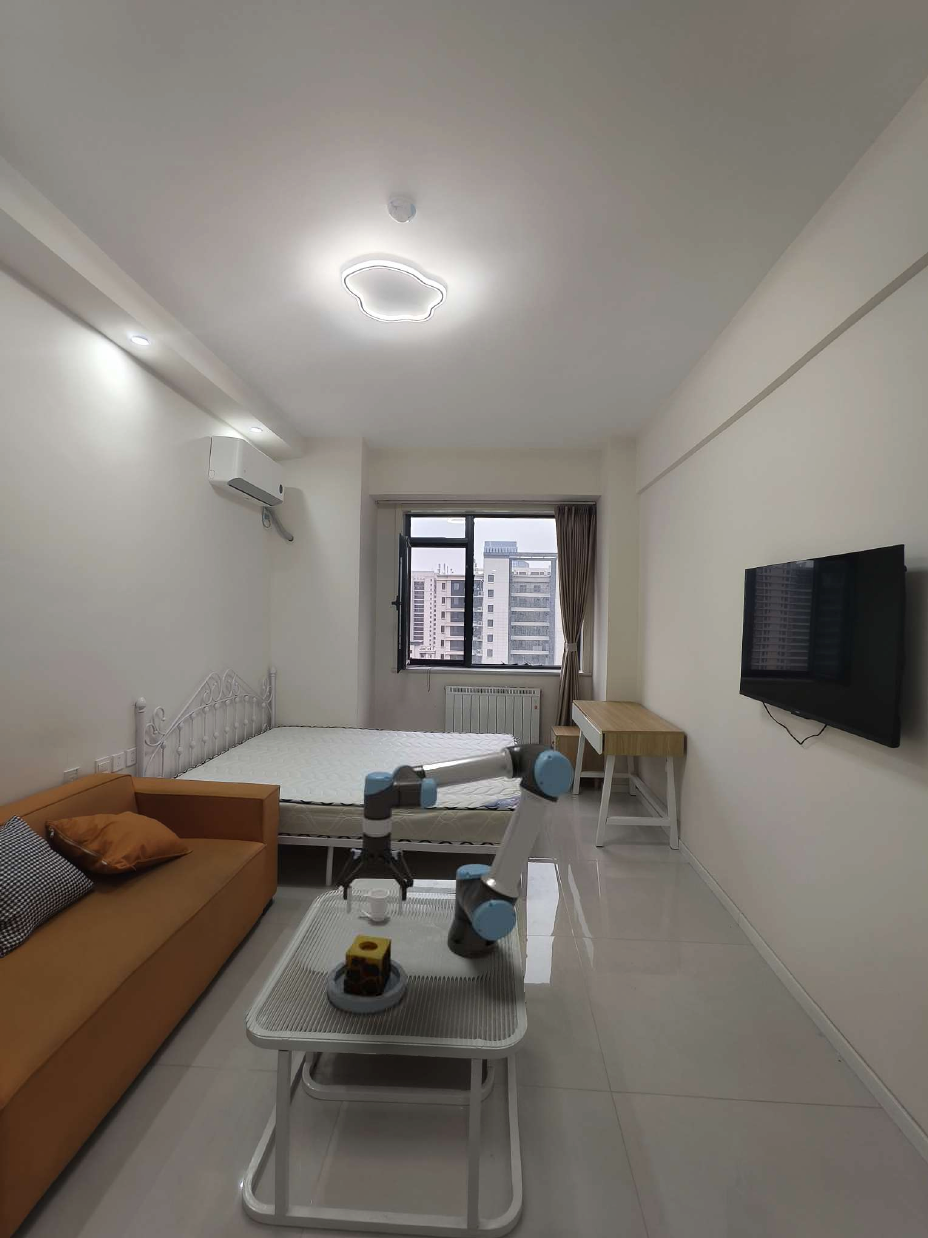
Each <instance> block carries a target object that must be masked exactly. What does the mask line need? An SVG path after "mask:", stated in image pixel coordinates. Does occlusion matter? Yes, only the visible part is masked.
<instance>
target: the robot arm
mask: <svg viewBox="0 0 928 1238" xmlns="http://www.w3.org/2000/svg"><path fill="white" fill-rule="evenodd" d="M574 776H575V775H574V768H573V765H572V763H571V762H570V760H569V759H568V758H567V757H566V755H563V754H562V753H561V752H560V751H558V750H555V749H553V748H550V747H548V746H546V745H545V744H543V743H539V742H527V743H521V744H514V745H509V746H504V747H501V749H500V751H496V752H495V751H494V752H490V753H484V754H478V755H472V756H467V757H461V758H460V757H459V758H455V759H450V760H444V761H438V762H431V763H426V764H421V765H415V766H414V765H413V766H412V765H408V764H400V765H398V766H397V767H396V768H394V770H393V771H392V773H391V772H387V771H374V772H373V771H372V772H370V773H368V774H366V776H365V778H364V788H363V816H362V818H363V819H362V832H363V833H362V845H361V847H362V848H361V850H360V849H356V848H355V847H352V848H351V850H350V853H349V858H348V860H347V862H346V863H345V865H344V867H343V870H342V871H341V873H340V875H339V877H338V878H337V881H336V886H338V887H342V888H343V893H342V896H343V898H342V899H343V900H345V901H346V914H347V915H349V914H351V911H352V899H353V898H352V897H353V893H352V892H353V885H352V883H353V882H354V881H355V880H356V879H357V878H358V876H359V875H360V874H361V873H362V872H363V871H364V870H365V869H366V868H367V867H368V868H369V869H375V868H376V869H382V868H384V869H385V870H386V871H387V872H388V873H389V874H390V875H391V877H392V878H393V879H394V880H395V882H396V883H397V884H398V885H399V889H398V908H397V909H398V915H399V916H402V912H403V902H406V900H407V897H408V896H407V895H408V888H412V887H414V882H415V881H414V878H413V876H412V874H411V872H410V871H411V870H410V869H409V867H408V864H407V863H406V860H405V858H404V853H403V849H402V848H399V849H397V850H392V833H391V831H392V823H393V822H392V819H393V818H392V817H393V816H392V815H393V813H392V812H393V810H402V809H424V808H430V807H434V806H435V805H436V804H437V801H438V789H443V788H448V787H454V786H461V785H464V784H471V783H476V782H482V781H488V780H493V779H497V778H498V779H499V778H503V777H504V778H506V779H508V780H512V779H521V780H520V782H519V785H518V787H519V789H520V793H521V794H520V796H519V798H518V801H517V803H516V806H515V809H514V811H513V813H512V816H511V818H510V820H509V823H508V825H507V827H506V830H505V832H504V835H503V837H502V840H501V843H500V844H499V848H498V849H497V852H496V854H495V857H494V859H493V860H492V861H493V862H492V864H491V865H486V864H480V863H476V864H474V863H470V864H465V865H462V866H460V867H459V868H458V869H457V870H456V875H455V876H456V877H455V895H454V917H453V920H452V922H451V925H450V928H449V930H448V933H447V942H446V943H447V946H448V948H449V950H451V951H452V952H453V953H454V954H455V953H456V954H457V955H459V956H463V957H466V958H467V957H468V958H482V956H483V957H487V956H489V955H491V954H493V953H494V952H495V951H496V950H497V948H498V941H499V940H501V939H503V938H506V937H507V936H508V935H509V934H510V933H512V931H513V930H514V929H515V926H516V923H517V917H518V916H517V912H516V908H515V907H516V905H517V901H518V898H519V895H520V893H519V889H518V883H519V881H520V879H521V876H522V874H523V871H524V869H525V866H526V863H527V862H528V859H529V857H530V855H531V852H532V849H533V847H534V845H535V841H536V840H537V837H538V835H539V832H540V829H541V827H542V825H543V822H544V820H545V817H546V815H547V813H548V809H549V808H550V807H551V806H553V805H556V804H557V802H558V800H559V797H561V796H563V795H564V794H565V793H567V792H568V791H569V790H570V788H571V787H572V785H573V782H574V778H575V777H574ZM358 857H360V858H361V859H362V861H361V863H359V865H358V866H357V867H356V868H355V869H354V870H353V872H352V873H351V874H349V876H348V877H347V878H346V879H345V877H346V876H347V874H348V872H349V870H350V868H351V867H352V864H353V863H354V860H356V859H358ZM392 857H394V859H395V861H396V860H397V863H398V865H399V867H400V870H401V872H402V874H401V873H400V872H399V870H398V869H397V868H396V867H395V865H394V864H393V863H392V861H391V859H392ZM402 875H403V876H404V877H403V876H402ZM496 947H497V948H496ZM495 949H496V950H495ZM494 950H495V951H494ZM493 951H494V952H493ZM492 952H493V953H492ZM490 953H491V954H490ZM488 954H489V955H488ZM486 955H487V956H486Z"/></svg>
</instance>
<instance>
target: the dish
mask: <svg viewBox="0 0 928 1238" xmlns="http://www.w3.org/2000/svg"><path fill="white" fill-rule="evenodd" d="M345 966H346V960H343V961H341V962H339V963H338V964H337V965H336V966H335V967H334V968H333V969H331V970H330V972H329V976H328V978H327V985H326V986H327V995H328V998H329V1001H330V1002H331V1003H332V1004H333V1005H334V1006H335V1007H336V1008H338V1009H339V1010H342V1011H345V1012H347V1013H351V1014H360V1015H363V1014H364V1015H367V1014H375V1013H379V1012H383V1011H385V1010H387V1009H390V1008H391V1007H393V1006H395V1005H396V1004H397V1003H399V1002H400V1001H401V999H402V998H403V996H404V994H405V992H406V983H407V973H406V970H405V969H404V967H403V965H401V964H400V963H399V962H397V961H396V960H394V959H392V958H391V971H390V978H389V979H388V982H387V985H386V987H385V989H384V992H383V993H382V995H380V996H376V997H372V996H361V995H355V994H350V993H345V992H344V990H343V988H344V984H343V982H344V977H345Z"/></svg>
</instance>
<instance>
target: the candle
mask: <svg viewBox="0 0 928 1238" xmlns="http://www.w3.org/2000/svg"><path fill="white" fill-rule="evenodd" d="M391 957H392V939H391V938H384V937H376V936H371V935H361V934H357V936H356V937H355V939H354V941H353V942H352V943H351V945H350V947H349V948H348V949H347V951H346V953H345V961H346V966H345V977H344V982H343V984H344V988H343V990H344V992H345V993H350V994H355V995H361V996H372V997H376V996H380V995H382V993H383V992H384V989H385V987H386V985H387V982H388V979H389V978H390V971H391V959H392V958H391Z"/></svg>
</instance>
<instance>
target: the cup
mask: <svg viewBox="0 0 928 1238" xmlns="http://www.w3.org/2000/svg"><path fill="white" fill-rule="evenodd" d="M390 895H391V894H390V891H389V889H384V888H374V889H372V890H370V891H369V892H368V894H363V895H362V896H361V897H360V899H359V903H358V909H359V910H360V911H361V913H362V914H363V915H365V917H368V918H370V919H371V920H372V921H374V922H381V921H384V920H385V918H386V917H385V916H386V914H387V911H388V908H389V907H388V906H389V901H390ZM363 898H368V899H369V907H370V908H369V909H370V913H371V915H370V914H368V913H367V912H366V911H365V910H363V909H362V906H361V901H362V899H363Z"/></svg>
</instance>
